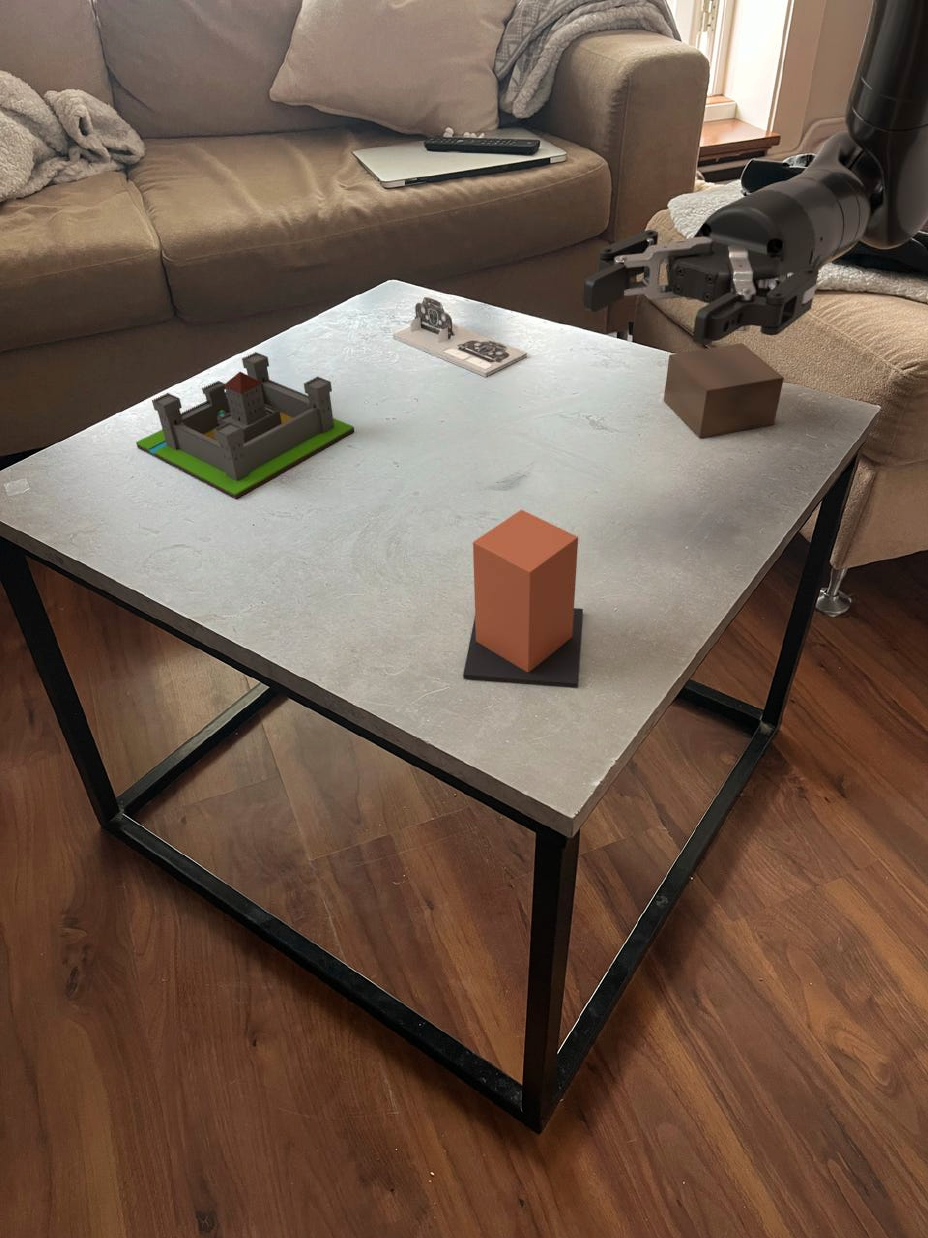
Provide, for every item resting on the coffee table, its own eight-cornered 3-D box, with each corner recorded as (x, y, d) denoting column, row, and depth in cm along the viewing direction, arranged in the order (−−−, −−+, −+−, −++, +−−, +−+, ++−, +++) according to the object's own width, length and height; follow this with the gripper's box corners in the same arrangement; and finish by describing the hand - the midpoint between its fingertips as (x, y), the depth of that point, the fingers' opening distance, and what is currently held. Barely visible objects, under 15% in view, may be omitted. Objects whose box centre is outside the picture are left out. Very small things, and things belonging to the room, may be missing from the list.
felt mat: (582, 612, 70) (582, 608, 70) (577, 687, 64) (577, 683, 64) (477, 605, 71) (477, 601, 71) (463, 678, 65) (463, 674, 65)
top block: (520, 608, 70) (521, 509, 64) (572, 637, 67) (578, 536, 61) (475, 641, 67) (472, 541, 61) (528, 673, 65) (530, 572, 59)
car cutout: (393, 337, 108) (389, 300, 105) (434, 320, 111) (432, 282, 108) (485, 376, 100) (484, 337, 97) (526, 356, 103) (527, 317, 100)
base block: (734, 388, 96) (742, 342, 93) (774, 424, 90) (784, 377, 87) (663, 400, 94) (668, 354, 91) (699, 438, 89) (706, 390, 85)
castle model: (236, 499, 83) (219, 425, 78) (137, 447, 91) (116, 377, 86) (354, 431, 92) (345, 361, 87) (255, 389, 99) (242, 322, 94)
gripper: (691, 172, 69) (556, 230, 61) (875, 208, 62) (750, 279, 53) (680, 272, 74) (553, 339, 66) (849, 317, 67) (730, 399, 58)
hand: (641, 312), depth 59 cm, fingers open, 8 cm apart
